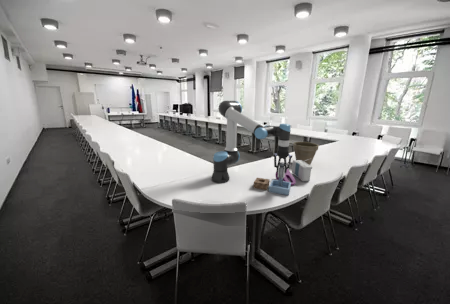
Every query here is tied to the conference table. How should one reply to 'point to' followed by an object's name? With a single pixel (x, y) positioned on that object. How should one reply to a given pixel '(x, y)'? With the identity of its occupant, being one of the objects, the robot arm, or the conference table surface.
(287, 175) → the mounting bracket
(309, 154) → the plant pot
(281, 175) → the steel pin
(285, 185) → the parts tray
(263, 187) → the block
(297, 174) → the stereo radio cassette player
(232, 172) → the conference table surface
